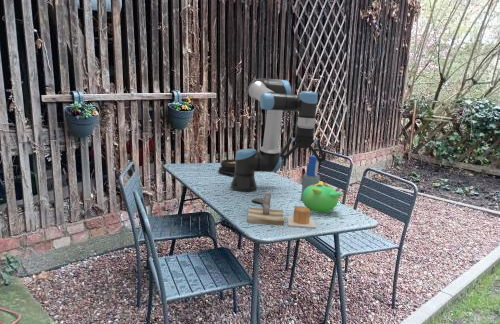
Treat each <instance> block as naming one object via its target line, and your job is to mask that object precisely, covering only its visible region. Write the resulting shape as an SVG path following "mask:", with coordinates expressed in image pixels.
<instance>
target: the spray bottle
mask: <svg viewBox="0 0 500 324" xmlns="http://www.w3.org/2000/svg"><path fill="white" fill-rule="evenodd" d="M316 161H318V159H317V158H316V156H315V155H313V154H312V155H309V160H308V162H307V164H306V173H303V175H302V184H301V185H302V186H301V194H300V195H301V196H300V201H301V202H303V200H302V194H303V192H304V190H305V189H306V188H307V187H308V186H310V185H313V184H318V183H319V182H321V180H320V179H321V178H320V174H317V176H315V166H316Z"/></svg>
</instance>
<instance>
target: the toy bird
mask: <svg viewBox="0 0 500 324" xmlns="http://www.w3.org/2000/svg"><path fill="white" fill-rule="evenodd" d="M301 194H302V193H301ZM343 195H344V193H343V192H337V190H336V189H335V188H333V187H332V186H331V185H328V184H325V183H324V182H323V181H321V180H320V181H319V183H318V184H313V185H310V186H308V187H307V188H306V189H305V190H304V192H303V194H302V200H303V201H302V203H303V204H304V207H307V208H309V209H310V211H313V212H316V213H325V212H330V211H332V210H334V209H335V208H336V207H337V205H338V203H339V198H340V197H343Z"/></svg>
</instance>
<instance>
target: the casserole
mask: <svg viewBox="0 0 500 324" xmlns="http://www.w3.org/2000/svg"><path fill="white" fill-rule="evenodd" d="M220 165H221V166H220V167H218V172H220V173H223V174H226V175H228V174H230V175H229V176H234V175H235V159H224V160H221V162H220Z"/></svg>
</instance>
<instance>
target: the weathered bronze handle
mask: <svg viewBox="0 0 500 324" xmlns="http://www.w3.org/2000/svg"><path fill="white" fill-rule="evenodd" d="M251 201H252V202H257V203H260V204H262V205H263V204H264V198H262V197H256V198H253V199H252V200H251Z"/></svg>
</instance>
